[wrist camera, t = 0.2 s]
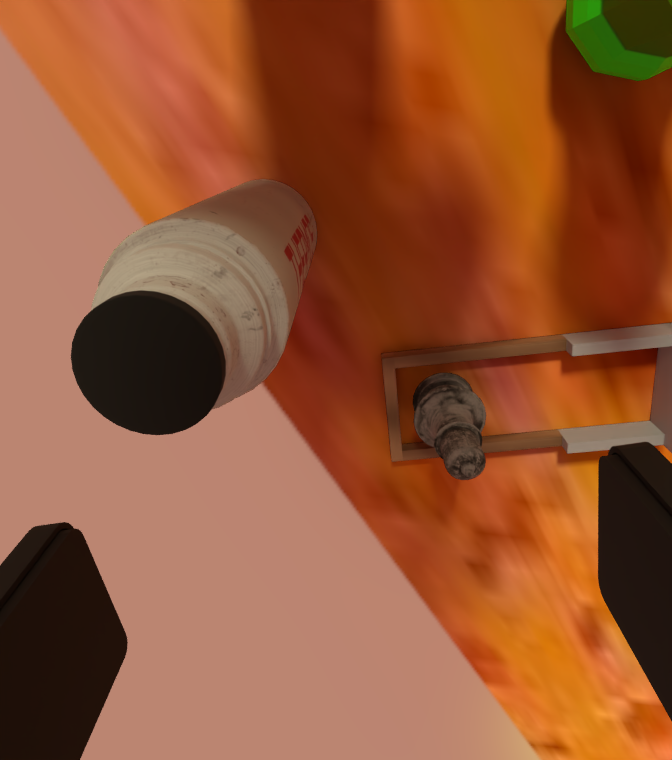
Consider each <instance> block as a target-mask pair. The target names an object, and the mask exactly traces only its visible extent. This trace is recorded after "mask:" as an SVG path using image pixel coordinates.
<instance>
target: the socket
mask: <svg viewBox="0 0 672 760" xmlns="http://www.w3.org/2000/svg"><path fill="white" fill-rule="evenodd" d="M562 335H563V336H564V337H565V338H566V339H567V346H566V351H567V352H568V353H569V354H570V355H571V356H581V355H591V354H600V353H610V352H620V351H629V350H639V349H649V348H658V355H657V364H656V373H655V381H654V390H653V399H652V407H651V416H650V421H641V422H631V423H620V424H610V425H599V426H589V427H578V428H567V429H558V431H559V432H560V433H561V435H562V447H563V448H564V450H565V451H566V452H567V454H568V453H579V452H590V451H601V450H610V448H611V447H612V446H618V445H625V444H632V443H639V442H649V443H651V444H652V445H653V446H655V445H664V446H665V447H666V448H667V449H668V450H669V451H670V452H671V453H672V323H664V324H655V325H645V326H636V327H626V328H617V329H608V330H598V331H589V332H579V333H570V334H562Z"/></svg>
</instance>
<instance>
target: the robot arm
mask: <svg viewBox="0 0 672 760" xmlns="http://www.w3.org/2000/svg"><path fill="white" fill-rule="evenodd" d="M598 580H599V587H600V590H601V594H602V596H603V599H604V601H605V603H606V605H607V607H608V608H609V610H610V612H611V614H612V615H613V617H614V619H615V621H616V623H617V624H618V626H619V628H620V630H621V632H622V633H623V635H624V637H625V639H626V640H627V642H628V644H629V646H630V648H631V649H632V651H633V653H634V655H635V657H636V658H637V660H638V662H639V664H640V665H641V667H642V669H643V671H644V673H645V674H646V676H647V678H648V680H649V681H650V683H651V685H652V687H653V689H654V690H655V692H656V694H657V696H658V698H659V699H660V701H661V703H662V705H663V706H664V708H665V710H666V712H667V714H668V715H669V717H670V719H671V721H672V464H671V463H670V462H669V461H668V460H667V459H666V458H665V457H664V456H663V455H662V454H661V453H660V452H659V451H658V450H657V449H656V448H655V447H654V446H653V445H652V444H651V443H649V442H639V443H632V444H625V445H618V446H612V447H611V448H610V450H609V453H608V456H602V457H600V459H599V501H598ZM126 652H127V636H126V633H125V631H124V628H123V626H122V624H121V622H120V619H119V617H118V615H117V612H116V610H115V608H114V605H113V603H112V601H111V598H110V596H109V594H108V591H107V589H106V587H105V584H104V582H103V580H102V577H101V575H100V573H99V571H98V568H97V566H96V564H95V561H94V559H93V557H92V554H91V552H90V550H89V547H88V545H87V543H86V540H85V538H84V536H83V534H82V532H81V531H80V530H78V529H74V528H73V526H71V525H70V524H69V523H65V522H63V523H56V524H48V525H41V526H36V527H33V528H32V529H31V530H29V532H28V533H27V534H26V535H25V536H24V538H23V539H22V540H21V541H20V542H19V543H18V545H17V546H16V547H15V548H14V550H13V551H12V552H11V553H10V554H9V555H8V557H7V558H6V559H5V560H4V561H3V563H2V564H1V565H0V760H80V758H81V756H82V754H83V751H84V749H85V747H86V745H87V742H88V740H89V738H90V735H91V733H92V731H93V729H94V726H95V724H96V722H97V719H98V717H99V715H100V713H101V710H102V708H103V706H104V703H105V701H106V699H107V697H108V694H109V692H110V690H111V688H112V685H113V683H114V680H115V678H116V676H117V674H118V672H119V669H120V667H121V665H122V663H123V660H124V658H125V655H126Z"/></svg>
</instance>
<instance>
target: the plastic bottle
mask: <svg viewBox="0 0 672 760" xmlns="http://www.w3.org/2000/svg"><path fill="white" fill-rule="evenodd" d="M566 33H567V34H568V36H569V37H570V39H571V40H572V41H573V43H574V44H575V46H576V47H577V49H578V50H579V52H580V53H581V55H582V56H583V58H584V59H585V60H586V62H587V63H588V65H589V66H590V68H591V69H592V71H593V72H598V73H603V74H607V75H612V76H617V77H621V78H626V79H631V80H636V81H641V80H646V79H649V78H651V77H653V76H655V75H657V74H659V73H661V72H663V71H665V70H667V69H669V68H671V67H672V0H567V1H566Z"/></svg>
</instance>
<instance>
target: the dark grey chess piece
mask: <svg viewBox="0 0 672 760" xmlns="http://www.w3.org/2000/svg"><path fill="white" fill-rule="evenodd" d="M413 406H414V411H415V413H414V425H415V430H416V432H417V434H418V436H419V437H420V438H421V439H422V440H423V441H424V442H425V443H426V444H428V445H430V446H431V447H433V448H435V450H436V452H437V454H438V455H439V456H440V457H441V458H442V459H443V460H444V464H445V467H446V469H447V471H448V472H449V474H450V475H452V476H453V477H454V478H456V479H460V480H469V479H473V478H475V477H477V476H478V475H480V474H481V472H482V471H483V470H484V468H485V463H486V460H485V455H484V453H483V450H482V448H481V446H482V441H483V440H482V435H481V432H482V429H483V427H484V425H485V420H486V412H485V407H484V405H483V403H482V401H481V399H480V398H479V397H478V396H477V395H476V394H475V393H474V392H473V391H472V389H471V387H470V385H469V384H468V382H467V381H466V380H465V379H463V378H462V377H460V376H458V375H456V374H452V373H438V374H434V375H432V376H430V377H428V378H426V379H425V380H424V381H422V382H421V383H420V384H419V386H418V387H417V389H416V391H415V393H414V396H413Z"/></svg>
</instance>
